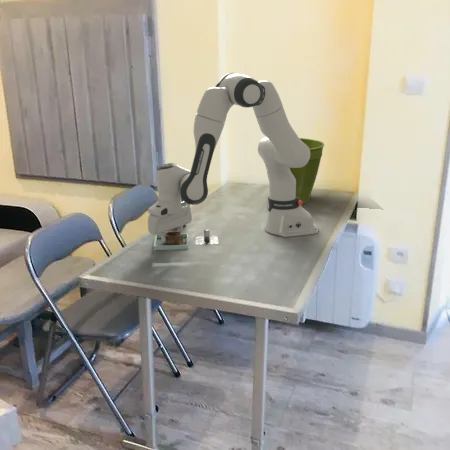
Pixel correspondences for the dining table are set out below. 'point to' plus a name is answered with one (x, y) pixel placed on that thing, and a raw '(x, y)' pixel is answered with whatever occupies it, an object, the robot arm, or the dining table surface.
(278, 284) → the dining table surface
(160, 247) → the tray
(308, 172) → the plant pot
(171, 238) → the ring
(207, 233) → the stake
